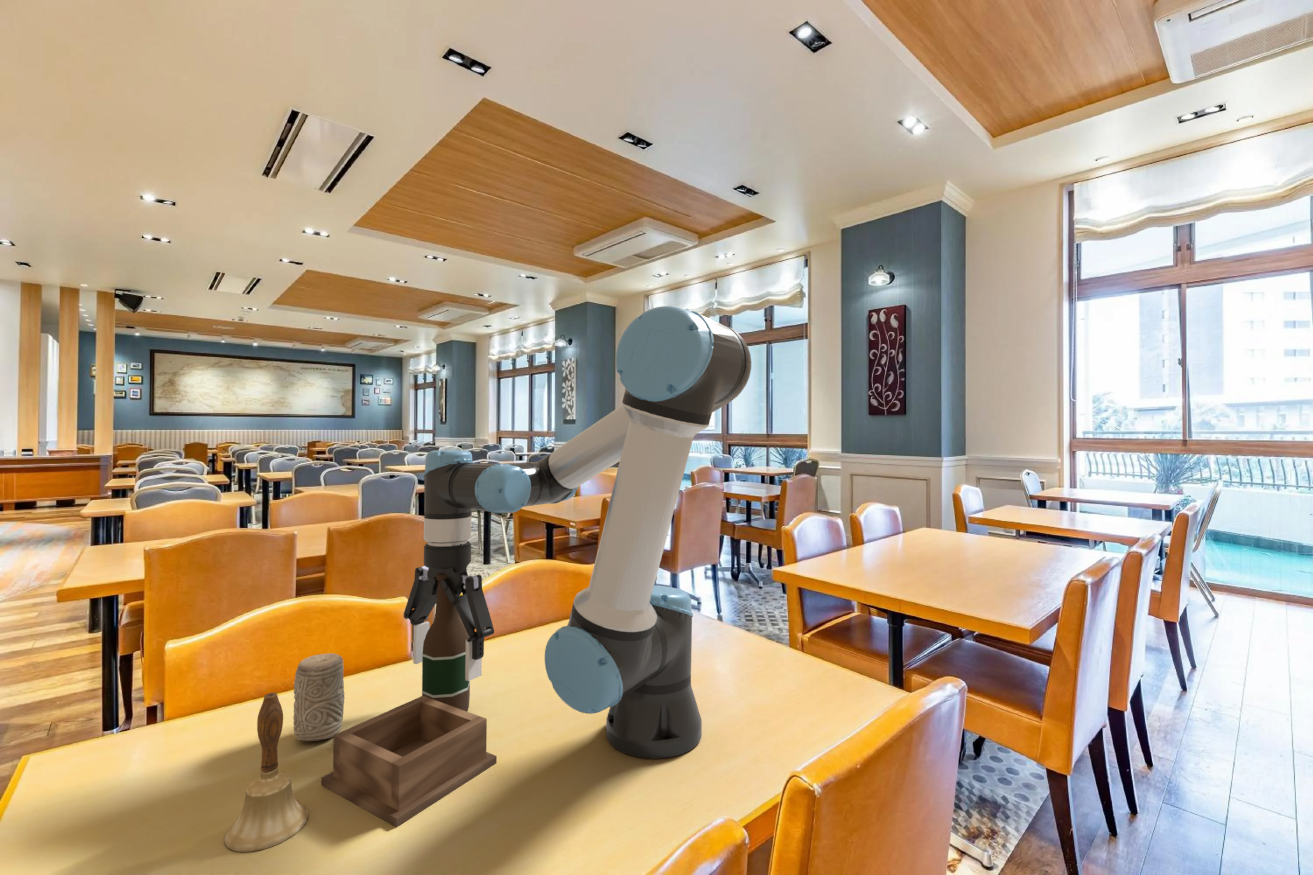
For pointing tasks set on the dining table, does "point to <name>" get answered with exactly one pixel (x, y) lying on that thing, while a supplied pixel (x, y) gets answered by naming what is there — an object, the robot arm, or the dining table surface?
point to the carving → (318, 697)
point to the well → (408, 758)
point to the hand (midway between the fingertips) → (446, 669)
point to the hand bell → (267, 793)
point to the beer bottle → (445, 655)
